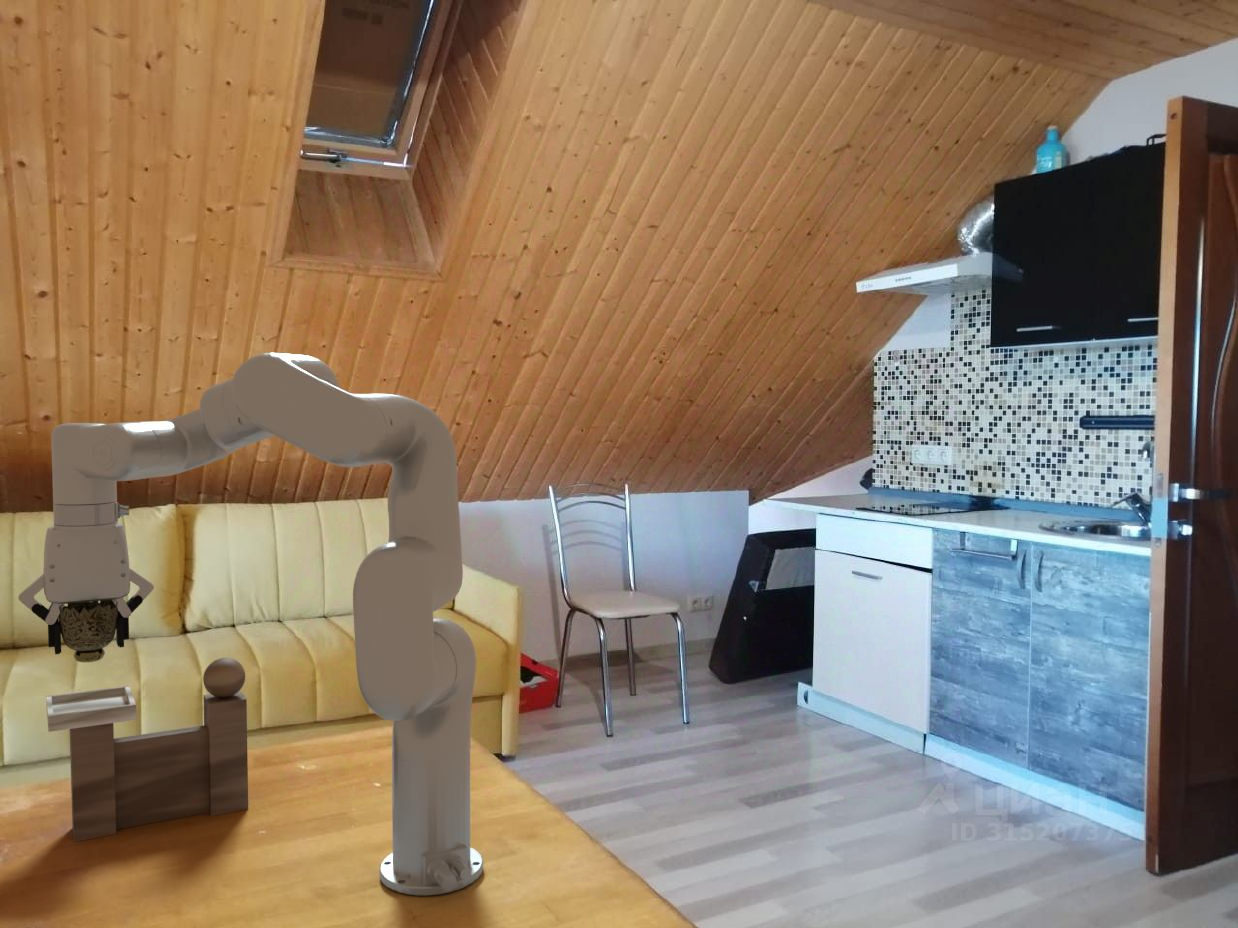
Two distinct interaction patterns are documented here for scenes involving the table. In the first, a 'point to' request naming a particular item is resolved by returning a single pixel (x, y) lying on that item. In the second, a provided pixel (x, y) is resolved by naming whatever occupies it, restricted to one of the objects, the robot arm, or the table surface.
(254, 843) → the table surface
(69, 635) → the cup
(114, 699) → the headboard
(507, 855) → the table surface
